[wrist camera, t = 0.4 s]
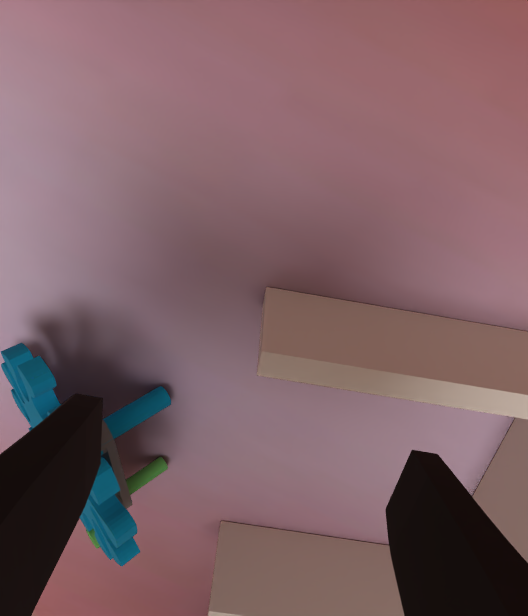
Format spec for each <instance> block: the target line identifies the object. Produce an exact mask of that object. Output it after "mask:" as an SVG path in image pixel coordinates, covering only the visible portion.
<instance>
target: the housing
mask: <svg viewBox="0 0 528 616" xmlns="http://www.w3.org/2000/svg"><path fill="white" fill-rule="evenodd" d="M257 376H263V377H269V378H276V379H282V380H288V381H294V382H300V383H306V384H313V385H319V386H325V387H331V388H337V389H343V390H349V391H356V392H362V393H368V394H374V395H380V396H386V397H393V398H399V399H405V400H411V401H417V402H423V403H430V404H436V405H442V406H448V407H454V408H460V409H466V410H473V411H479V412H485V413H491V414H497V415H503V416H510V417H516V418H515V419H514V421H513V423H512V425H511V427H510V429H509V430H508V432H507V434H506V436H505V438H504V440H503V441H502V443H501V445H500V447H499V449H498V451H497V452H496V454H495V456H494V458H493V460H492V462H491V463H490V465H489V467H488V469H487V471H486V473H485V474H484V476H483V478H482V480H481V482H480V484H479V486H478V487H477V489H476V491H475V493H474V495H473V499H474V500H475V501H476V502H477V504H478V505H479V506H480V507H481V509H482V510H483V511H484V512H485V513H486V515H487V516H488V517H489V518H490V520H491V521H492V522H493V523H494V524H495V526H496V527H497V528H498V529H499V530H500V532H501V533H502V534H503V535H504V536H505V537H506V539H507V540H508V541H509V542H510V543H511V544H512V546H513V547H514V548H515V549H516V550H517V551H518V553H519V554H520V555H521V556H522V557H523V558H524V559H525V560H526V562H527V563H528V332H527V331H521V330H515V329H510V328H504V327H498V326H492V325H486V324H480V323H475V322H469V321H463V320H457V319H451V318H445V317H440V316H434V315H428V314H422V313H416V312H410V311H405V310H399V309H393V308H387V307H381V306H375V305H370V304H364V303H358V302H352V301H346V300H341V299H335V298H329V297H323V296H317V295H311V294H306V293H300V292H294V291H288V290H282V289H276V288H271V287H266V291H265V296H264V302H263V307H262V318H261V330H260V342H259V354H258V366H257ZM208 616H404V612H403V607H402V603H401V599H400V595H399V590H398V586H397V582H396V577H395V573H394V568H393V564H392V559H391V555H390V547H389V545H382V544H375V543H368V542H361V541H355V540H348V539H341V538H334V537H327V536H321V535H314V534H307V533H300V532H293V531H287V530H280V529H273V528H266V527H259V526H253V525H246V524H239V523H232V522H225V521H221V524H220V529H219V535H218V542H217V550H216V557H215V565H214V572H213V579H212V587H211V594H210V601H209V609H208Z"/></svg>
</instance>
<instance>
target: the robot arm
mask: <svg viewBox="0 0 528 616" xmlns="http://www.w3.org/2000/svg"><path fill="white" fill-rule="evenodd" d="M102 406H103V398H99V397H93V396H87V395H81V394H74V395H73V396H71V397H70V398H69V399H68V400H66V401H65V402H64V403H63V404H62V405H60V406H59V407H58V408H57V409H56V410H55V411H53V412H52V413H51V414H50V415H49V416H48V417H46V418H45V419H44V420H43V421H42V422H40V423H39V424H38V425H37V426H35V427H34V428H33V429H32V430H31V431H29V432H28V433H27V434H26V435H24V436H23V437H22V438H21V439H19V440H18V441H17V442H15V443H14V444H13V445H12V446H10V447H9V448H8V449H6V450H5V451H4V452H3V453H1V454H0V616H31V615H32V613H33V611H34V608H35V606H36V604H37V602H38V600H39V598H40V596H41V594H42V592H43V590H44V588H45V586H46V584H47V582H48V580H49V578H50V576H51V574H52V572H53V570H54V568H55V566H56V564H57V562H58V560H59V558H60V556H61V554H62V552H63V550H64V548H65V546H66V544H67V542H68V540H69V538H70V536H71V534H72V532H73V530H74V528H75V526H76V524H77V522H78V520H79V518H80V516H81V514H82V512H83V510H84V508H85V505H86V503H87V500H88V497H89V495H90V492H91V489H92V487H93V484H94V481H95V478H96V475H97V473H98V470H99V467H100V464H101V437H102ZM386 519H387V530H388V539H389V547H390V555H391V559H392V564H393V568H394V573H395V577H396V582H397V586H398V590H399V595H400V599H401V603H402V607H403V612H404V616H528V563H527V562H526V560H525V559H524V558H523V557H522V556H521V555H520V554H519V553H518V551H517V550H516V549H515V548H514V547H513V546H512V544H511V543H510V542H509V541H508V540H507V539H506V537H505V536H504V535H503V534H502V533H501V532H500V530H499V529H498V528H497V527H496V526H495V524H494V523H493V522H492V521H491V520H490V518H489V517H488V516H487V515H486V513H485V512H484V511H483V510H482V509H481V507H480V506H479V505H478V504H477V502H476V501H475V500H474V499H473V497H472V496H471V495H470V494H469V492H468V491H467V490H466V489H465V487H464V486H463V485H462V484H461V482H460V481H459V480H458V479H457V477H456V476H455V475H454V474H453V472H452V471H451V470H450V469H449V467H448V466H447V465H446V464H445V463H444V461H443V460H442V459H441V458H440V457H439V455H438V454H434V453H428V452H422V451H416V450H412V451H411V453H410V456H409V458H408V460H407V462H406V465H405V467H404V469H403V471H402V474H401V476H400V478H399V480H398V483H397V485H396V487H395V489H394V492H393V494H392V496H391V498H390V501H389V503H388V505H387V507H386Z"/></svg>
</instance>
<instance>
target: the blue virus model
mask: <svg viewBox="0 0 528 616" xmlns="http://www.w3.org/2000/svg"><path fill="white" fill-rule="evenodd" d="M1 354H2V356H3V359H4V361H5V362H4V363H2V364H1V367H2V369H3V371H4V373H5V375H6V377H7V379H8V380H9V382H10V383H11V385H12V387H13V388H14V389H12V390H11V392H12V395H13V398H14V400H15V402H16V404H17V406H18V408H19V409H20V411H21V412H22V413H23V415H24V416H25V417H26V419H27V420H28V422H29V424H30V425H31V427H30V428H29V430H30V431H31V430H32V429H33V428H34V427H35V426H37V425H38V424H39V423H40V422H42V421H43V420H44V419H45V418H46V417H48V416H49V415H50V414H51V413H52V412H53V411H55V410H56V409H57V408H58V407H59V406H60V405H62V404H60V403H59V401H58V399H57V397H56V395H55V393H54V391H53V388H54V387H56V386H57V384H56V381H55V378H54V376H53V374H52V372H51V371H50V369H49V368H48V366H47V365H46V363H45V362H44V361H43V359H42V358H41V357H40V355H39V356H37V357H35V358H33V356H32V354H31V352H30V350H29V349H28V348H27V347H26V346H25V345H24V344H22V343H20V344H17V345H15V346H13V347H10V348H8V349H6V350H4V351H1ZM169 405H171V399H170V397H169V395H168V393H167V391H166V390H165V389H164V388H163V387H162V386H159V387H158V388H156V389H154V390H152V391H151V392H149V393H147V394H145V395H144V396H142V397H140V398H139V399H137V400H135V401H133V402H132V403H130V404H128V405H126V406H125V407H123V408H121V409H120V410H118V411H116V412H114V413H113V414H111V415H109V416H108V417H106V418H104V419H102V437H101V464H100V467H99V470H98V473H97V475H96V478H95V481H94V484H93V487H92V489H91V492H90V495H89V497H88V500H87V503H86V505H85V508H84V510H83V512H82V514H81V516H80V519H81V521H82V522H83V524H84V526H85V527H86V531H87V533H88V535H89V537H90V539H91V541H92V542H93V544H94V546H95V547H96V548H99V547H101V548H102V550H103V551H104V553H105V554H106V555H107V557H108V558H109V559H110V560H111V559H112V558H114V560H115V561H116V562H117V563H118V564H119V565H120V566H123V565H124V564H126V563H127V562H128V561H129V560H131V559H132V558H133V557H134V556H136V555H137V554H138V553H140V550H139V548H138V546H137V544H136V542H135V540H134V539H133V536H134V535H135V534H137V526H136V523H135V521H134V520H133V518H132V516H131V515H130V514H129V512H128V511H127V510H126V509H127V508H128V507H130V506H131V505H132V500H131V497H130V495H131V494H132V493H134V492H135V491H137V490H138V489H139V488H141V487H142V486H144V485H145V484H147V483H148V482H149V481H151V480H152V479H154V478H155V477H157V476H158V475H159V474H161V473H162V472H164V471H165V470H167V469H168V467H167V464H166V462H165V461H164V459H163V458H162V457H159V458H158V459H156V460H155V461H153V462H152V463H150V464H149V465H147V466H146V467H144V468H143V469H141V470H140V471H138V472H137V473H135V474H134V475H132V476H131V477H129V478H128V479H125V475H124V472H123V468H122V465H121V461H120V458H119V454H118V451H117V447H116V444H115V440H114V439H115V438H117V437H119V436H120V435H122V434H124V433H125V432H127V431H128V430H130V429H132V428H133V427H135V426H137V425H138V424H140V423H141V422H143V421H145V420H146V419H148V418H150V417H151V416H153V415H154V414H156V413H158V412H159V411H161V410H163V409H164V408H166V407H167V406H169Z"/></svg>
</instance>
